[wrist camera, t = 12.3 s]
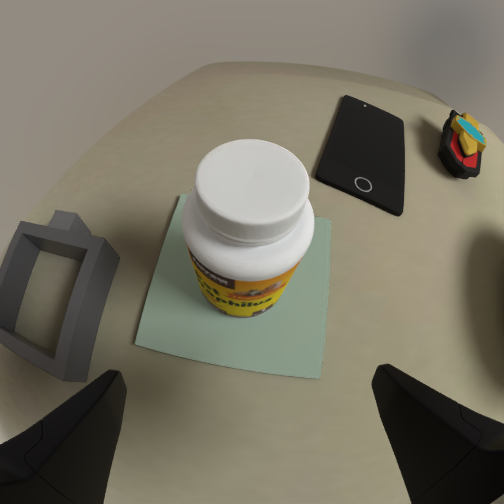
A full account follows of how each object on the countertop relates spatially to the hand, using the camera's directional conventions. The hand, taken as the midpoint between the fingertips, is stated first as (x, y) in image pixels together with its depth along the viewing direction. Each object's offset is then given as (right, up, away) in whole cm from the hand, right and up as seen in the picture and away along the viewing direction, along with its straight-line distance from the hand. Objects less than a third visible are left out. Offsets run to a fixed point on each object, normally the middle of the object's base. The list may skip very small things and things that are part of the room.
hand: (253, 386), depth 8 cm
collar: (-15, +1, +8) cm, 17 cm away
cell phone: (+13, +16, +19) cm, 28 cm away
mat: (-1, +3, +11) cm, 11 cm away
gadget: (+28, +18, +21) cm, 39 cm away
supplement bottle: (-1, +2, +10) cm, 10 cm away
